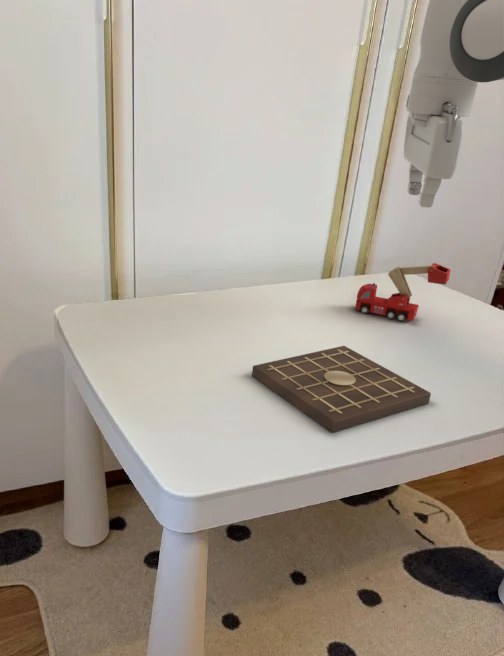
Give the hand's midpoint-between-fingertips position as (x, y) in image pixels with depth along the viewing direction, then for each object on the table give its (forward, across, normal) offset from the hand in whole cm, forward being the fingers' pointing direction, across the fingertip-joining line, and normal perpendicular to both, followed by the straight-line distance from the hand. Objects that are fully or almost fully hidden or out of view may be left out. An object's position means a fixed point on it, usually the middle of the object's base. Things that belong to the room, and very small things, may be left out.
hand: (418, 200), depth 97 cm
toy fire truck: (+19, 0, 0) cm, 19 cm away
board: (+19, -29, +12) cm, 37 cm away
